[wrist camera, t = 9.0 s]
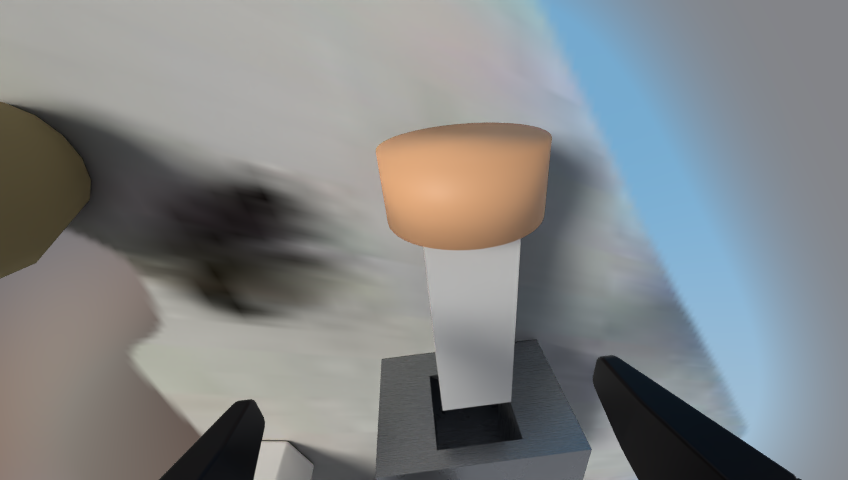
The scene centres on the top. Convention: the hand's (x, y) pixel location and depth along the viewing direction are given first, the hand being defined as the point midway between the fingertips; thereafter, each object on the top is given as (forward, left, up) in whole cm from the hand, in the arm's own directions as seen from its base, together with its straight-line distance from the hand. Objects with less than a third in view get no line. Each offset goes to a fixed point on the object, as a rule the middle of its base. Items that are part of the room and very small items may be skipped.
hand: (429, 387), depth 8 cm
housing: (-17, -2, -12) cm, 21 cm away
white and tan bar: (-2, -2, -11) cm, 11 cm away
